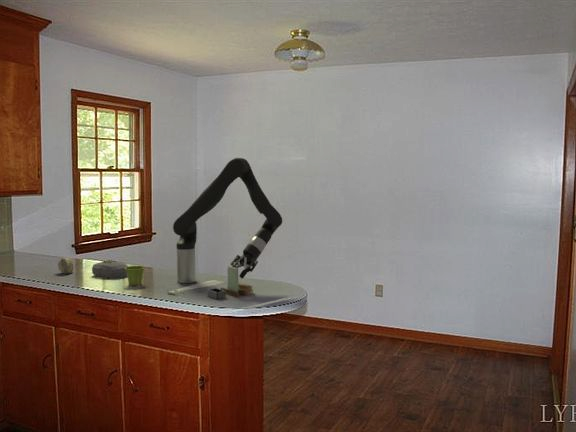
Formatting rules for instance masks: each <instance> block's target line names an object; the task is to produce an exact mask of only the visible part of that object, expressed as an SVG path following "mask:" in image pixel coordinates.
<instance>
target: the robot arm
mask: <svg viewBox="0 0 576 432" xmlns="http://www.w3.org/2000/svg"><path fill="white" fill-rule="evenodd" d="M238 178H239V179H240V180H241V181H242V182H243V183H244V186H245V187H246V189H247V192H248V194H249V197H250V200H251V202H252V204H253V205H254V206H255V209H256V210H257V211H258V213H259V214H260V215H263V216H264V217H265V219H264V220H265V221H264V222H263V223H262V225H261V226H260V228H259V229H258V231H257V232H256V233H255V234H254V236H253V237H251V239H250V240H249V242H248V244H246V246H245V247H244V249H243V250H242V255H241V256H240V255H239V254H236V256H235V257H234V259H233V260H232V261H231V262H230V267H235V268H238V269H239V268H243V267H244V269H242V271H241V272H240V273H239V274H238V277H239V278H240V279H242V280H243V279H244V278H245V277H246V275H247V274H248V273H251V272H253V271H254V269H255V268H256V266H257V264H258V263H259V260H258V258H259V257H260V256H261V254H262V253H263V251H264V250H265V247H266V246H267V244H268V243H269V242H270V241H271V239H272V236H273V235H274V233H275V232H276V231H277V229H278V228H279V227H281V226H282V224H283V218H282V215H281V214H280V212H279V211H278V209H276V208H275V207H274V206H273V205H272V203H271V202H270V200H269V198H267V196H266V193H264V191H263V189H262V188H261V186H260V184H259V183H258V180H257V178H256V176H255V175H254V172H253V170H252V167H251V165H250V163H249V162H248V160H247V159H245V158H243V157H233V158H231V159H230V160H229V161H228V162H227V163H226V165H225V166H224V168H223V169H222V170H221V171H220V173H219V174H218V176H217V177H216V178H214V180H212V182H211V183H209V185H208V186H207V187H206V188H205V189H204V190H203V191H201V193H200V195H199V196H198V197H197V198H196V199H195V201H194V202H193V203H192V204H191V205H190V206H189V207H188V209H187V210H185V212H183V213H182V214H181V215H180V216H179V217H178V218H177V219H175V221H174V222H173V225H172V230H173V232H174V234H176V235H178V236H179V239H178V241H177V242H176V281H177V283H179V284H190V283H195V282H196V280H197V279H196V244H197V243H196V242H197V233H198V232H197V230H198V229H197V221H198V220H200V219H201V218H202V217H204V215H206V214H208V213H209V212H211V210H214V208H215V207H216V206H217V205H218V204H219V203H220V202H221V200H222V199H223V198H224V196H225V194H226V191H228V190H227V189H228V187H230V185H231V184H232V183H233V182H234V181H236V180H237V179H238Z"/></svg>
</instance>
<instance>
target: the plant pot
mask: <svg viewBox="0 0 576 432" xmlns="http://www.w3.org/2000/svg"><path fill="white" fill-rule="evenodd" d="M125 269H126V272H127V276H126V277H127V281H128V286H131V287H132V286H140V285H142V284H143V273H144V269H145V266H143V265H131V266H128V267H126V268H125Z"/></svg>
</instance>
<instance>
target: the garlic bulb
mask: <svg viewBox="0 0 576 432" xmlns="http://www.w3.org/2000/svg"><path fill="white" fill-rule="evenodd" d="M57 267H58V270H59V271H60V272H61V273H64V274H63V275H67V274H68V275H69V274H72V273H74V267H75V266H74V263H73V261H72V260H71V258H69V257H64V256H61V258H60V260H59V261H58V263H57Z"/></svg>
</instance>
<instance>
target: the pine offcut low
mask: <svg viewBox="0 0 576 432" xmlns="http://www.w3.org/2000/svg"><path fill="white" fill-rule="evenodd" d="M241 290H243V289H241ZM244 291H246V290H244ZM253 293H254V289H252V290H248V291H246V295H248V296H250V295H249V294H253ZM253 295H254V294H253Z"/></svg>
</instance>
